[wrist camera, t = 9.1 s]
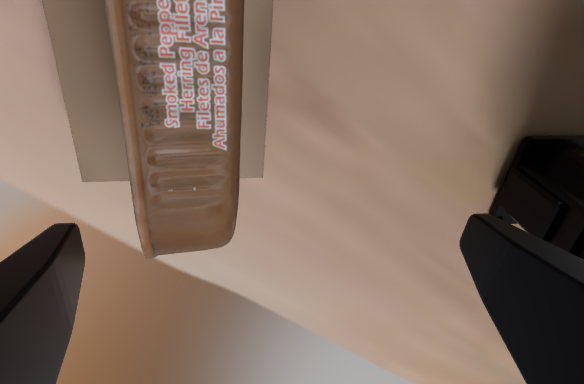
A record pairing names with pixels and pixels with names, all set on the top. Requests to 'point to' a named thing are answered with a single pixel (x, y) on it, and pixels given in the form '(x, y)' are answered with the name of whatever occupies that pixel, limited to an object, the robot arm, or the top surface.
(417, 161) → the top surface
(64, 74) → the stand
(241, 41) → the tin
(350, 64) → the top surface
